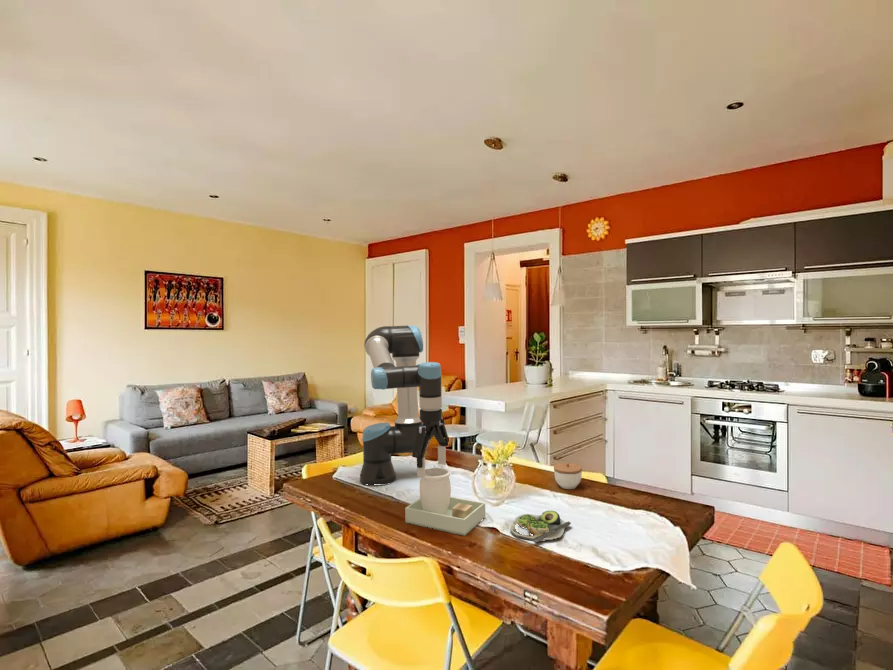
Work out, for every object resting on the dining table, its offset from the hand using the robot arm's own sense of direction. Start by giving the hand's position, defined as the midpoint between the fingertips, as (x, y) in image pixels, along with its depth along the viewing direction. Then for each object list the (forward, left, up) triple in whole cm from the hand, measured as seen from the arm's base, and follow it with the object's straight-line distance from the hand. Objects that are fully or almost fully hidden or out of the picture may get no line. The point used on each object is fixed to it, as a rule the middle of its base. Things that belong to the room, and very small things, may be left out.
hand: (432, 470), depth 167 cm
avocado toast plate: (-7, +35, -17) cm, 40 cm away
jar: (0, +1, -16) cm, 16 cm away
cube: (0, +11, -16) cm, 19 cm away
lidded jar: (-48, +33, -16) cm, 61 cm away
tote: (0, +5, -16) cm, 17 cm away
